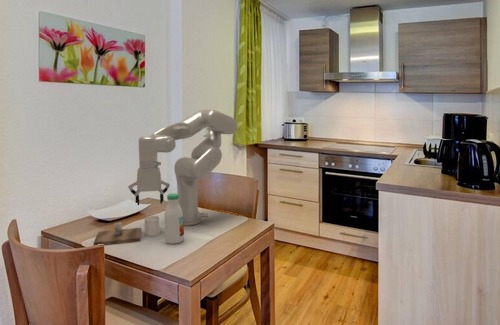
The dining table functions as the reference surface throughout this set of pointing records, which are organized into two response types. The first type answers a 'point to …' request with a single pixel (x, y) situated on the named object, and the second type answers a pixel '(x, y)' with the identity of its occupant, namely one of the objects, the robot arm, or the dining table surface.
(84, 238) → the dining table surface
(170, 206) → the milk bottle
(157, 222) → the pale grey short cylinder
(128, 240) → the post base
